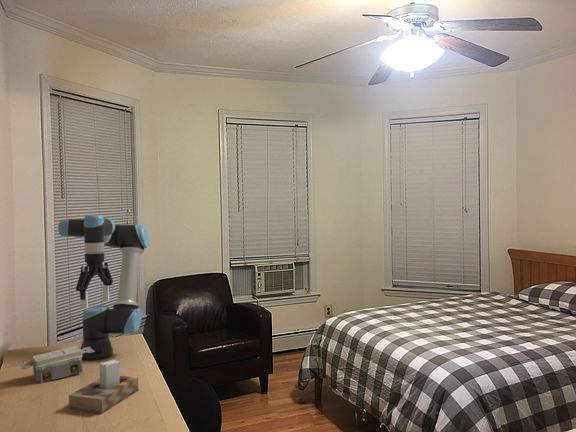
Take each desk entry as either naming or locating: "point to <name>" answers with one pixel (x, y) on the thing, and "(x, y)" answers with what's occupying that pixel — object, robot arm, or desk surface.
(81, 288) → the robot arm
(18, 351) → the desk surface
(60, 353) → the electrical outlet
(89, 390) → the socket panel
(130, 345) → the desk surface
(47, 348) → the desk surface
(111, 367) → the skincare box
